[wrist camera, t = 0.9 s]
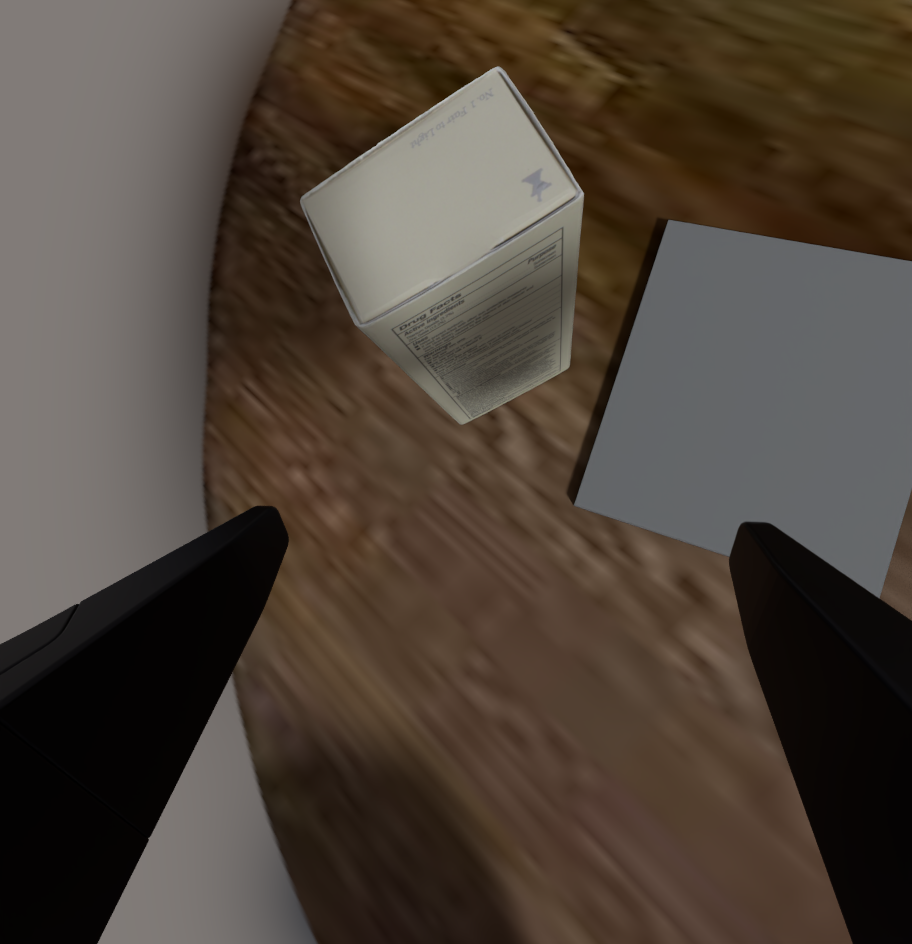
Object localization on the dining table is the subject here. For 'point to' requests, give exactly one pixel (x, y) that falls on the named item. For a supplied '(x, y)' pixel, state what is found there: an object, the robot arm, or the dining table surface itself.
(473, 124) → the skincare box
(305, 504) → the dining table surface
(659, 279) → the slate mat
